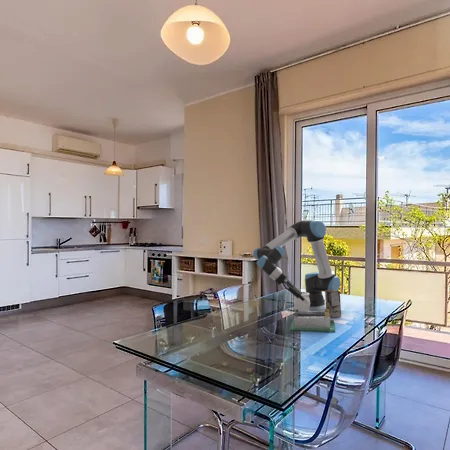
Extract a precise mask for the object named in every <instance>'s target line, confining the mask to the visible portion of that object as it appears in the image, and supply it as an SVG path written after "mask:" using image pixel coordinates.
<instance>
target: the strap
mask: <svg viewBox="0 0 450 450" xmlns="http://www.w3.org/2000/svg"><path fill="white" fill-rule="evenodd" d="M296 312H298V315H315V316H325V312H305V311H296Z"/></svg>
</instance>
